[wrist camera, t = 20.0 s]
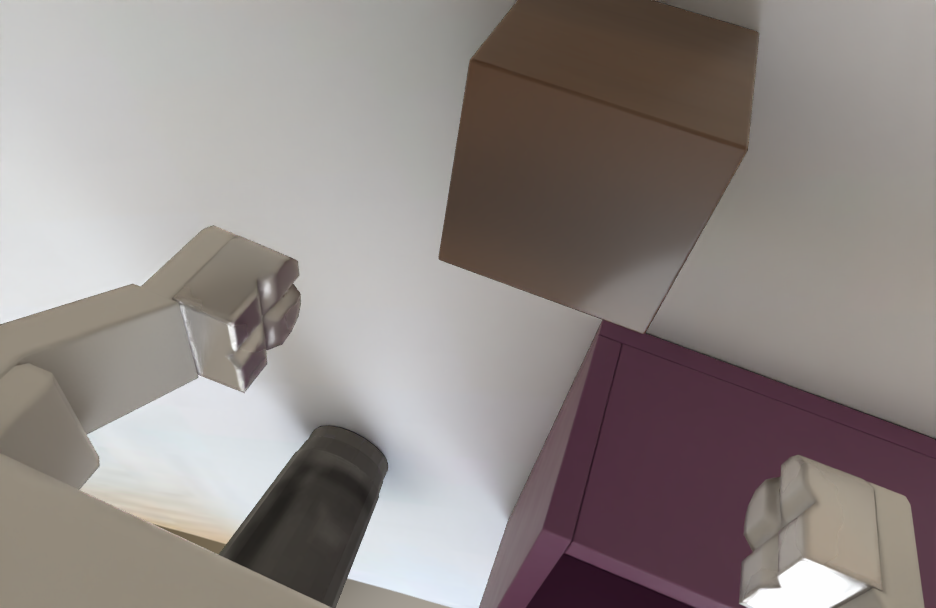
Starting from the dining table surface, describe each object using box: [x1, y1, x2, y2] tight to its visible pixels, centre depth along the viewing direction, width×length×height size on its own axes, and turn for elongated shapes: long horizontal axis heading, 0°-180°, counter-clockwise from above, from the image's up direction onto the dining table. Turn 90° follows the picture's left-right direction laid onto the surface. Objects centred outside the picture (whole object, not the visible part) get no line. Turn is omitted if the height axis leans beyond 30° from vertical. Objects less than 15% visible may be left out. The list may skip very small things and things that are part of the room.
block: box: [439, 0, 759, 334], centre depth 14 cm, size 5×5×5 cm
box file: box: [479, 320, 936, 608], centre depth 24 cm, size 17×14×8 cm
